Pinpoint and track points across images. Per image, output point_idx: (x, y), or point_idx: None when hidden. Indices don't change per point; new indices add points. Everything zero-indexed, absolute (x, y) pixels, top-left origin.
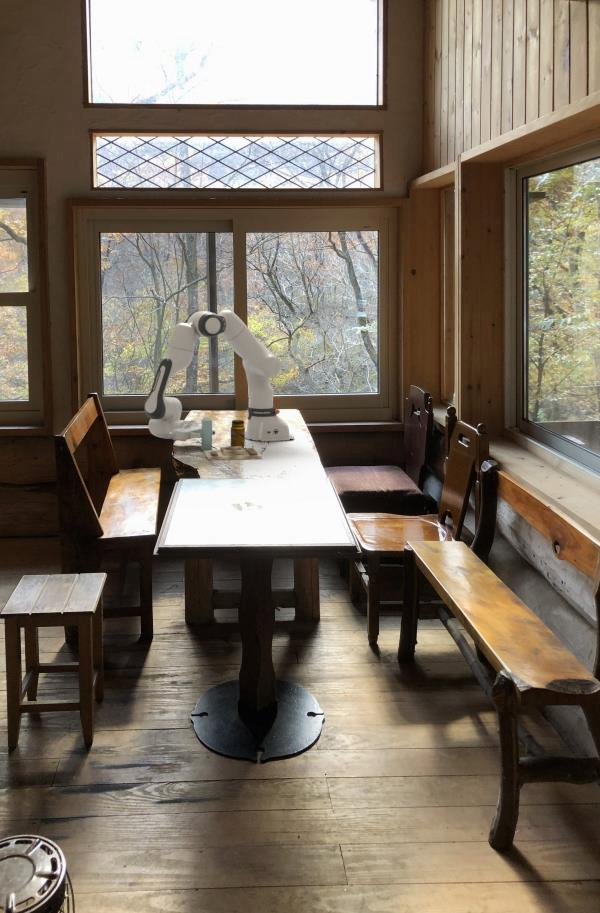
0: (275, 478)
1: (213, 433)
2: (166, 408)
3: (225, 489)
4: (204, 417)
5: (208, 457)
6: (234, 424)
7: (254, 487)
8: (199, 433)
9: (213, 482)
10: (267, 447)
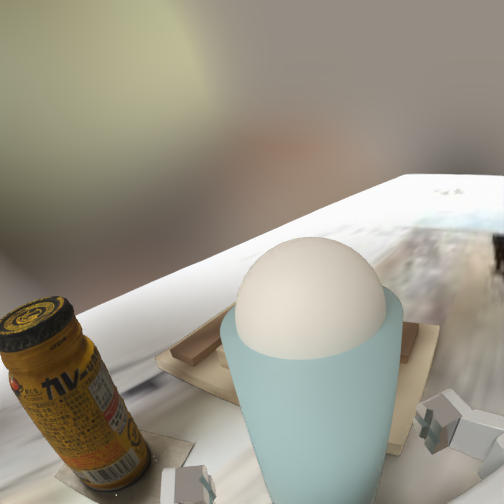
0: (357, 224)
1: (207, 475)
2: None
3: (459, 209)
4: (361, 257)
5: (437, 327)
6: (73, 329)
7: (415, 210)
8: (437, 409)
9: (471, 222)
10: None
